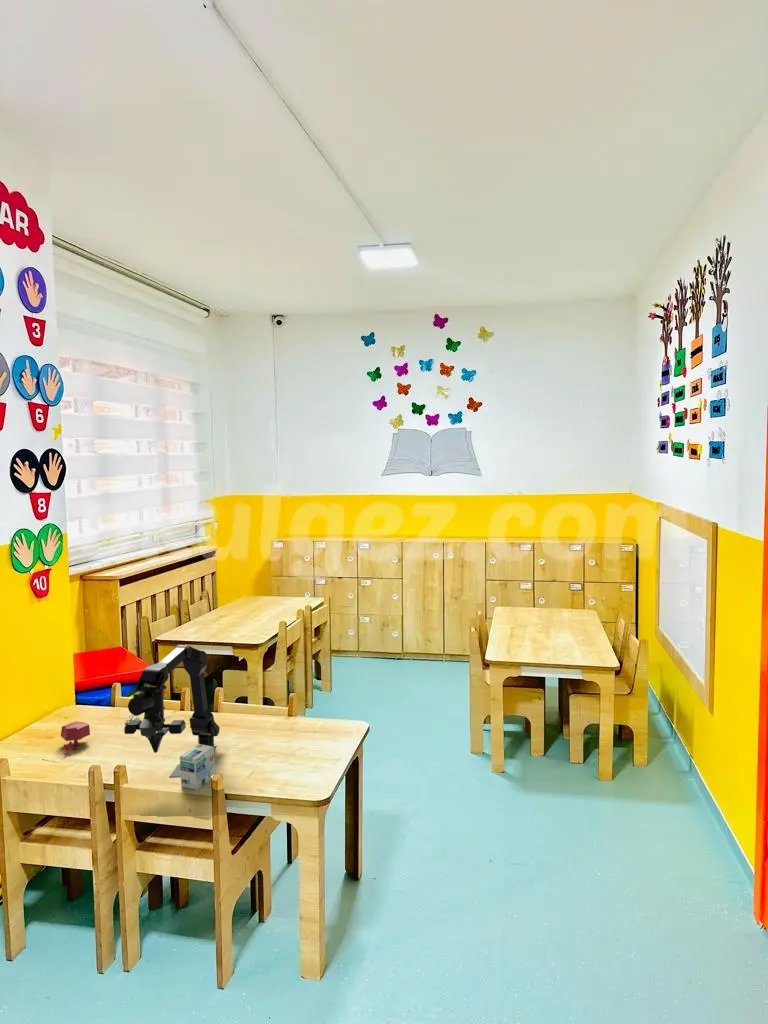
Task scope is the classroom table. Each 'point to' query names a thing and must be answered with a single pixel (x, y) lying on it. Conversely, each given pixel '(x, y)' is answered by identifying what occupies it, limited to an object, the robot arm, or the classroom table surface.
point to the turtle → (74, 733)
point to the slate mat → (176, 772)
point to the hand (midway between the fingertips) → (155, 752)
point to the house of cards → (131, 718)
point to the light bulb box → (197, 766)
